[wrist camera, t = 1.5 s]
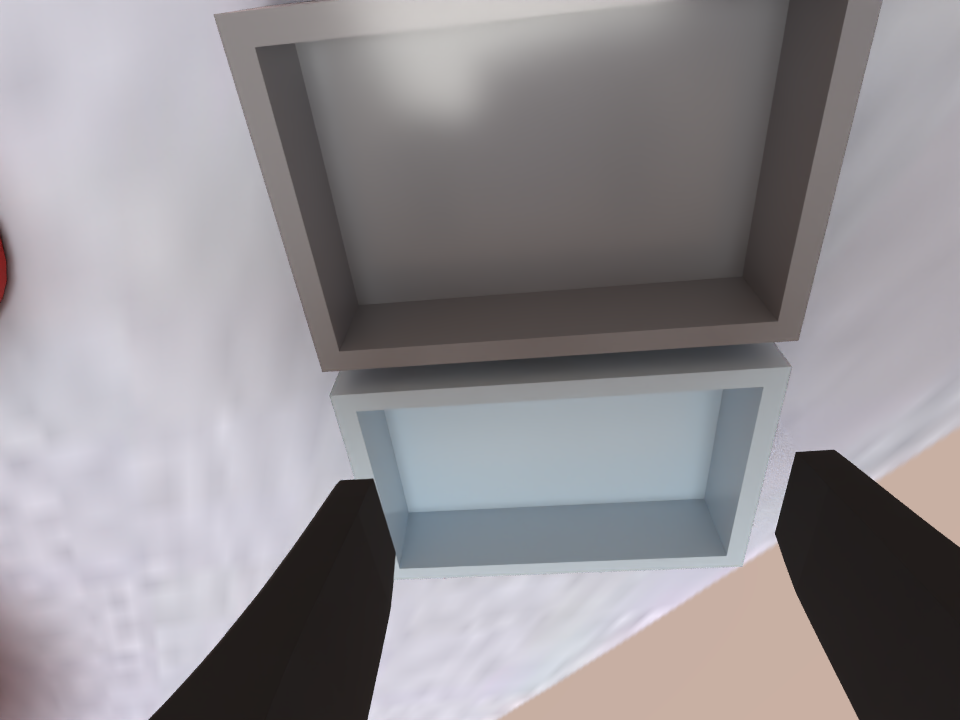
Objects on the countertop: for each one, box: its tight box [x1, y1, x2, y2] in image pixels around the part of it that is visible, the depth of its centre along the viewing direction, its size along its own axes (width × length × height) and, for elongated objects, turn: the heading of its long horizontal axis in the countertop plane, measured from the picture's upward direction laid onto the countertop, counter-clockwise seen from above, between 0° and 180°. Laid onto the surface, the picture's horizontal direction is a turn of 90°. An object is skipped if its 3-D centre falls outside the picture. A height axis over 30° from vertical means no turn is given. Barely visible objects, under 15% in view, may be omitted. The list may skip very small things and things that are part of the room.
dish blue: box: [330, 342, 792, 580], centre depth 19 cm, size 12×8×3 cm
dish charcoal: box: [214, 0, 883, 372], centre depth 14 cm, size 12×8×3 cm
